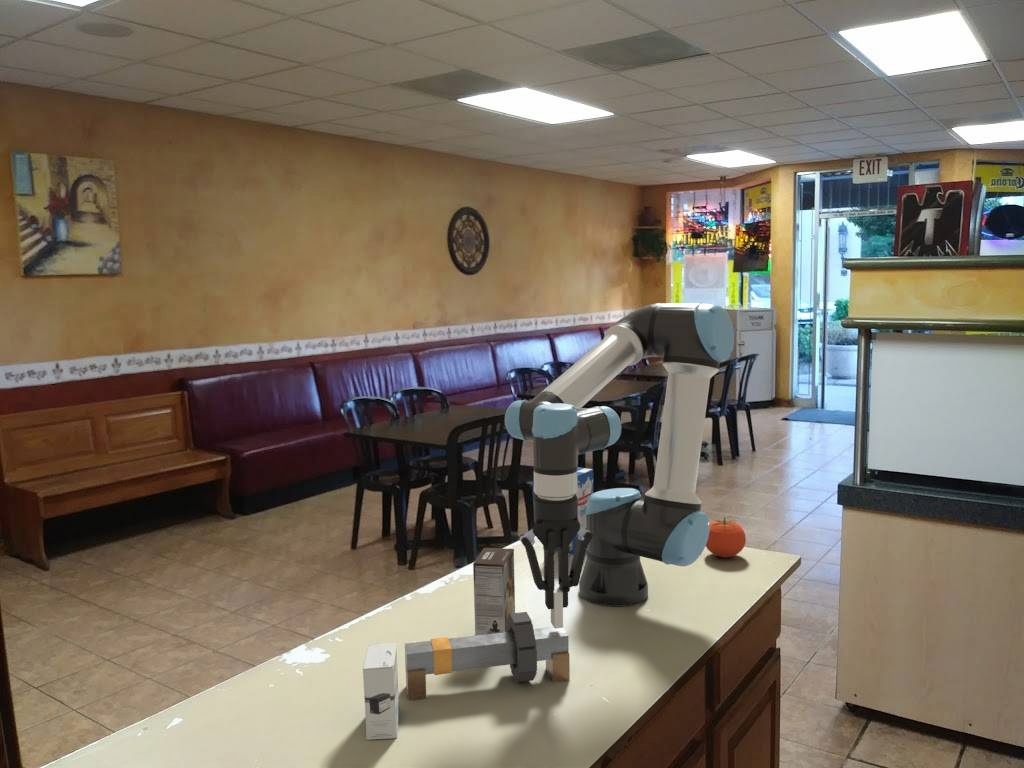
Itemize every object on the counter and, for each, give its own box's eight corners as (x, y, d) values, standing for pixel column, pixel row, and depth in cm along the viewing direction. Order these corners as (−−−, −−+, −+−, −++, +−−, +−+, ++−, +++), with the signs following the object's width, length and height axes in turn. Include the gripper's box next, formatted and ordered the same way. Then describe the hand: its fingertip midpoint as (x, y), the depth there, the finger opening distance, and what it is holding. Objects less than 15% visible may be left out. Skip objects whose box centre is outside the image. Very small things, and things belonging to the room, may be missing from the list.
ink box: (369, 711, 132) (366, 643, 130) (400, 709, 132) (397, 641, 130) (364, 741, 123) (361, 669, 121) (397, 739, 123) (394, 667, 122)
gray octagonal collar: (523, 660, 146) (522, 603, 145) (537, 690, 136) (536, 629, 134) (507, 662, 146) (505, 605, 144) (520, 692, 135) (519, 631, 134)
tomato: (695, 551, 203) (696, 513, 201) (732, 547, 205) (733, 509, 204) (715, 565, 193) (715, 525, 192) (753, 561, 195) (754, 521, 194)
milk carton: (573, 539, 214) (572, 466, 211) (593, 543, 210) (593, 469, 207) (553, 550, 205) (552, 474, 203) (574, 555, 202) (573, 477, 199)
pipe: (561, 666, 145) (561, 623, 144) (569, 680, 140) (569, 635, 139) (406, 685, 139) (404, 641, 138) (408, 700, 134) (406, 654, 133)
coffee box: (485, 621, 164) (483, 546, 162) (516, 624, 163) (514, 548, 161) (474, 642, 155) (472, 562, 153) (506, 644, 154) (505, 564, 152)
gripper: (585, 486, 143) (586, 612, 146) (513, 491, 140) (516, 619, 143) (598, 497, 135) (599, 630, 139) (523, 503, 133) (525, 638, 136)
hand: (556, 624), depth 141 cm, fingers closed
